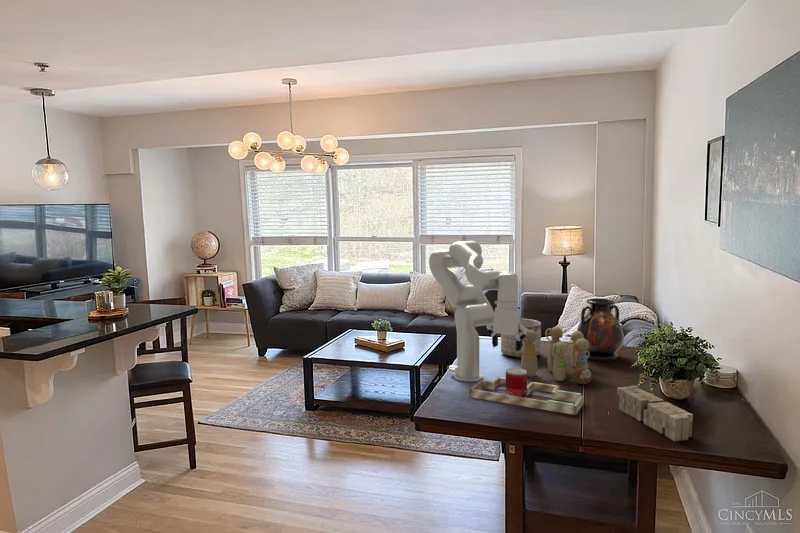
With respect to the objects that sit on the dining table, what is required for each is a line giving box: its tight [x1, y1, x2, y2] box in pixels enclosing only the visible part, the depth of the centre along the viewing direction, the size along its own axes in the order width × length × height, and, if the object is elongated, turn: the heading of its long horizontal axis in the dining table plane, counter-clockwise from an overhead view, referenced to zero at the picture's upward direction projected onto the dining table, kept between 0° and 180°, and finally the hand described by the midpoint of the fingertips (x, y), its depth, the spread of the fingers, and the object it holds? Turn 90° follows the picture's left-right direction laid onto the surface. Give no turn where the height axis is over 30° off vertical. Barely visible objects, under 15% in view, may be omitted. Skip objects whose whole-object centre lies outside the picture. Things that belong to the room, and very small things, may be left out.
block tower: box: [616, 385, 694, 442], centre depth 180 cm, size 8×8×29 cm
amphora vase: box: [576, 297, 625, 362], centre depth 258 cm, size 22×22×28 cm
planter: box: [500, 318, 542, 359], centre depth 265 cm, size 19×19×16 cm
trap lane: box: [468, 376, 585, 416], centre depth 205 cm, size 40×20×4 cm, turn 60°
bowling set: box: [520, 326, 593, 386], centre depth 229 cm, size 38×26×20 cm
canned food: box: [505, 367, 528, 398], centre depth 203 cm, size 8×8×11 cm
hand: (506, 348), depth 207 cm, fingers open, 9 cm apart
